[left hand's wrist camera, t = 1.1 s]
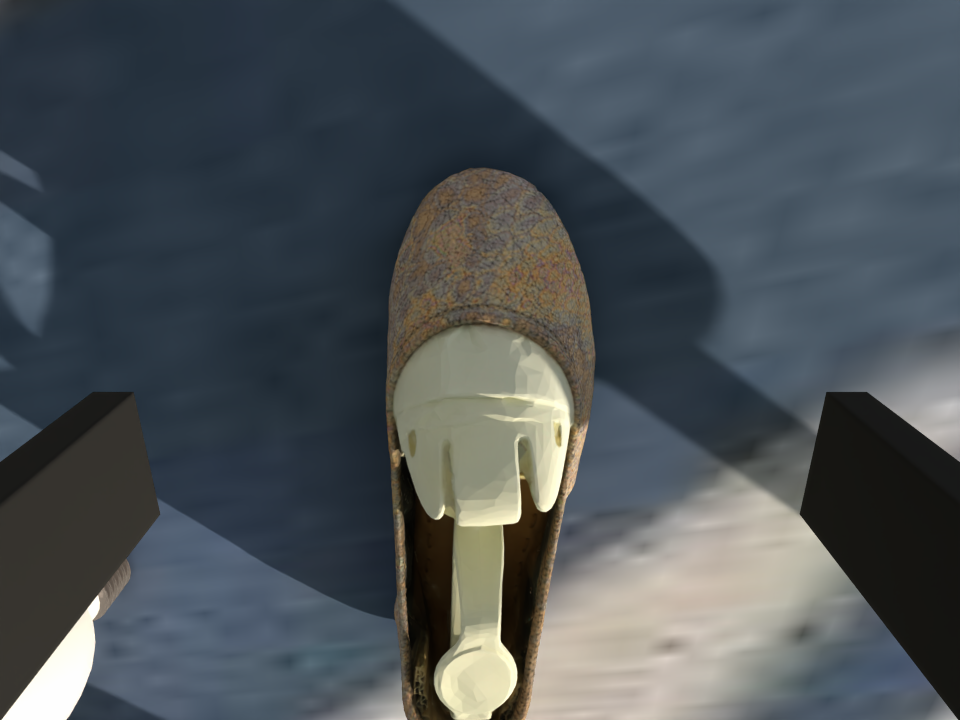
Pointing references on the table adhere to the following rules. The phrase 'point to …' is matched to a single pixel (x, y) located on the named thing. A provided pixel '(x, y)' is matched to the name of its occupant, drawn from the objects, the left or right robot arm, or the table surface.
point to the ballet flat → (482, 437)
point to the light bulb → (68, 663)
